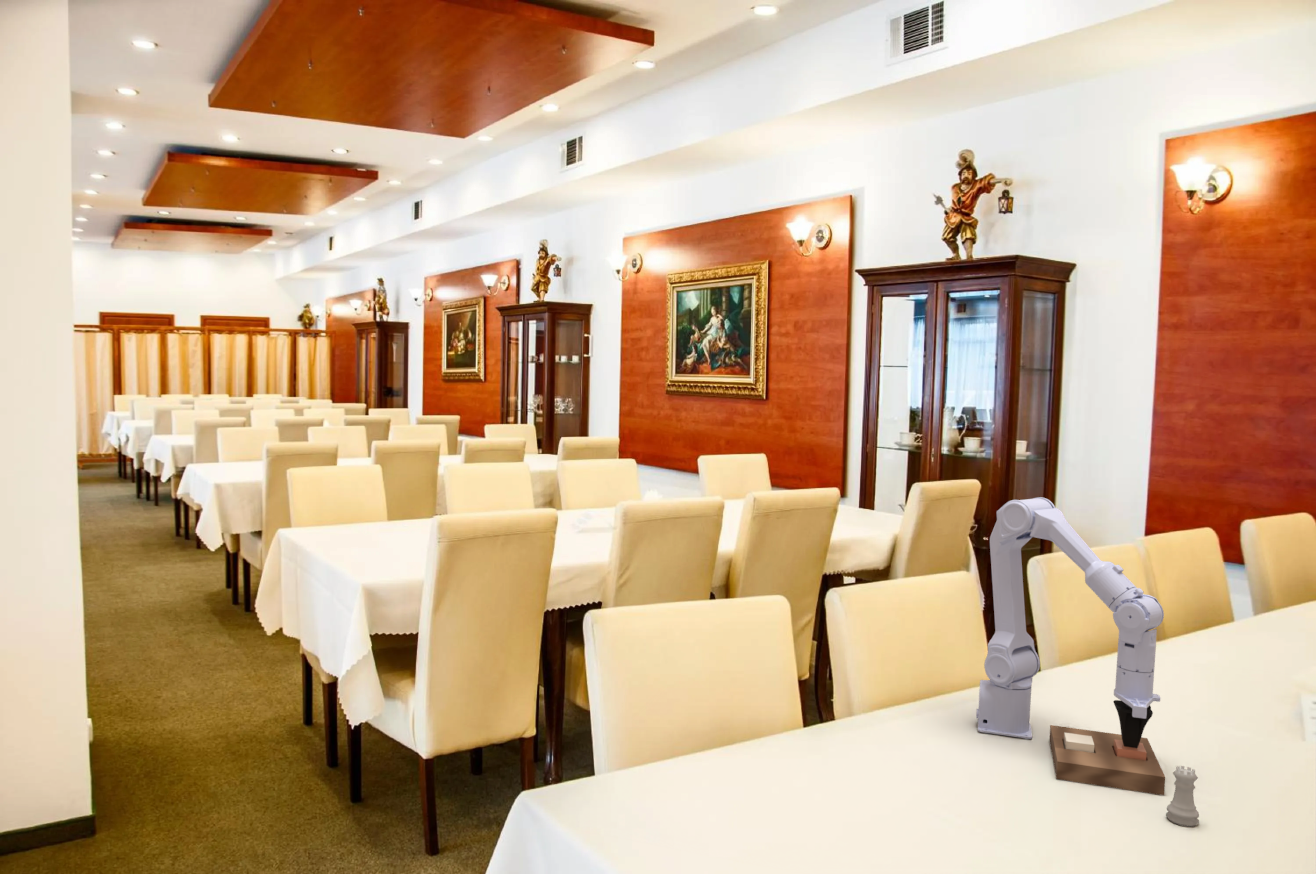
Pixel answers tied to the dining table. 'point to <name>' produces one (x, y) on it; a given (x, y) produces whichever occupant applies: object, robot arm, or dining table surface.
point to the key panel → (1105, 763)
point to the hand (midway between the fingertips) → (1130, 746)
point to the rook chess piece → (1183, 799)
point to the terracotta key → (1129, 750)
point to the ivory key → (1078, 742)
